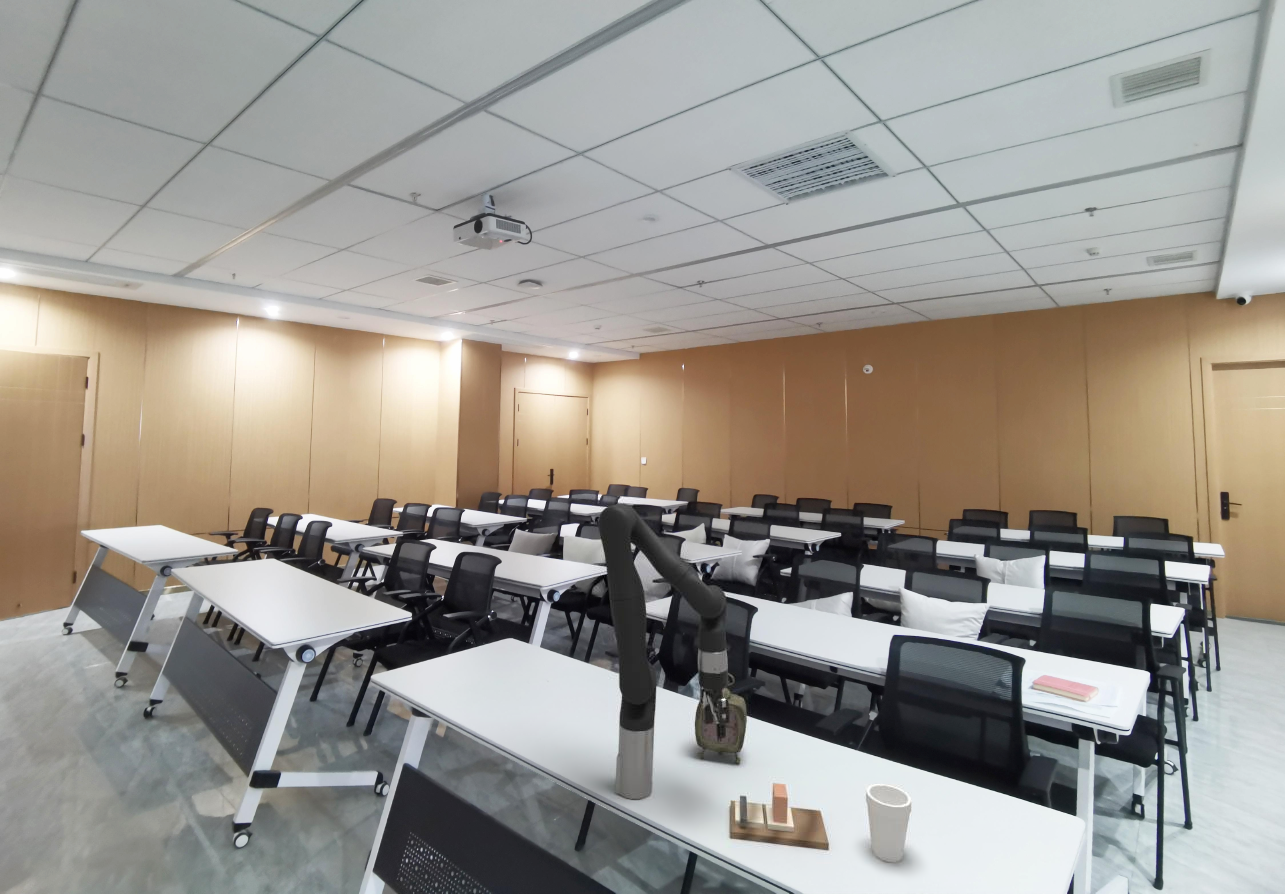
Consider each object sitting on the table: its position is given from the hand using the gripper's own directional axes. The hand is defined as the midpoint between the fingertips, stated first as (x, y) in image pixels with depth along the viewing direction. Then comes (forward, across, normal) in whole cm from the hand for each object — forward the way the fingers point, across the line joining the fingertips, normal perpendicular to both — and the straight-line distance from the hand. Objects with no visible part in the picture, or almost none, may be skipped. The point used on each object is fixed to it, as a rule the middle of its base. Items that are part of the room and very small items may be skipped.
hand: (714, 730), depth 155 cm
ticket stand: (+20, +12, +11) cm, 25 cm away
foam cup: (+21, +25, +31) cm, 45 cm away
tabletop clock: (+19, -23, +10) cm, 32 cm away
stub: (+18, +12, +11) cm, 24 cm away
